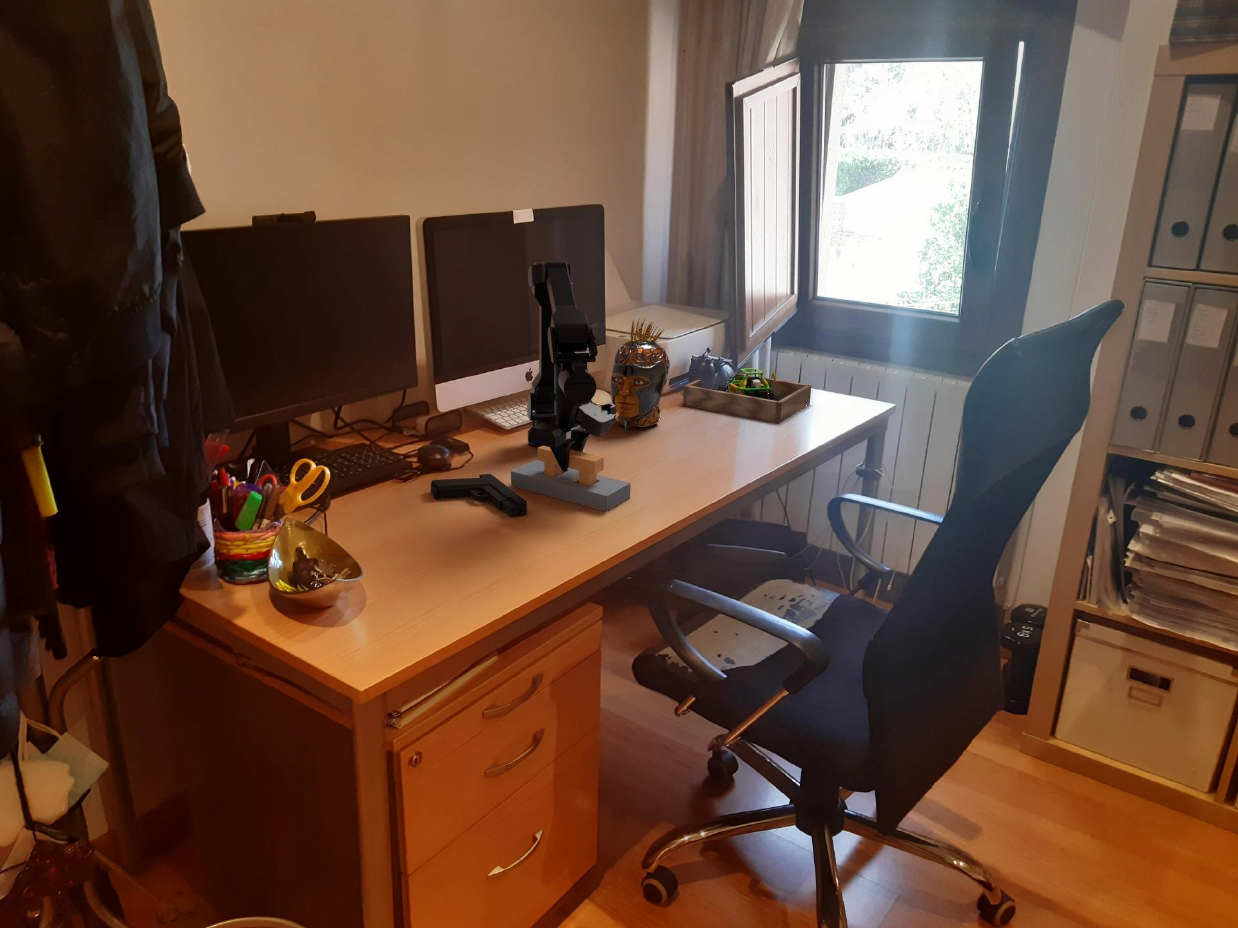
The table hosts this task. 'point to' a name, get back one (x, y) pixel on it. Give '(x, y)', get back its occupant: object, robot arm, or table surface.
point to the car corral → (750, 400)
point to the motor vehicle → (752, 386)
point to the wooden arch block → (573, 464)
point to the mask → (639, 378)
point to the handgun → (481, 492)
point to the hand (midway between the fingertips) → (569, 468)
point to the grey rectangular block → (571, 486)
